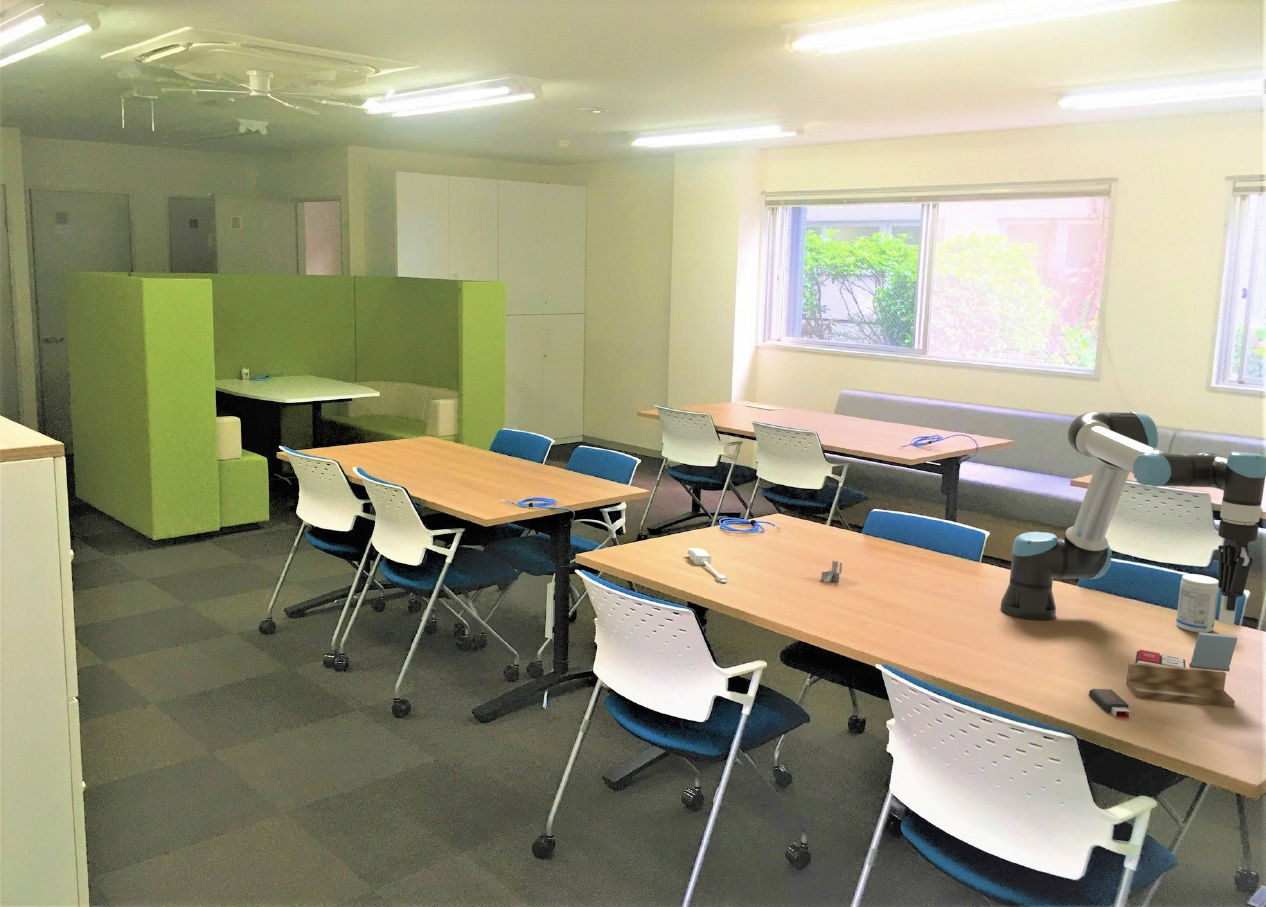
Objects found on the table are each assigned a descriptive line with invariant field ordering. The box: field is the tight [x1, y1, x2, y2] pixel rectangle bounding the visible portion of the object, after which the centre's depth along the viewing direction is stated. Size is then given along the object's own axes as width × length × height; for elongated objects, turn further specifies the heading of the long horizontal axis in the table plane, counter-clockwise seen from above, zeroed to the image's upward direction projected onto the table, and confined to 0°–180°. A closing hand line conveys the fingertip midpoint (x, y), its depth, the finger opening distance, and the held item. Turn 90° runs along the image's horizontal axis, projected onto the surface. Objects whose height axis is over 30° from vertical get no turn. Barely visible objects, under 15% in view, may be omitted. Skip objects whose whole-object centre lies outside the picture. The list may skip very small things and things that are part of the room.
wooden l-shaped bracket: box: [1125, 661, 1236, 708], centre depth 237 cm, size 21×8×6 cm, turn 80°
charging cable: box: [687, 547, 728, 583], centre depth 329 cm, size 5×32×3 cm, turn 14°
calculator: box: [1134, 649, 1187, 668], centre depth 250 cm, size 11×4×15 cm
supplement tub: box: [1175, 573, 1220, 633], centre depth 286 cm, size 10×10×15 cm
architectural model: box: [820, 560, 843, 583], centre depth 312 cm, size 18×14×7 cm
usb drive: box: [1088, 688, 1132, 719], centre depth 229 cm, size 5×12×3 cm, turn 178°
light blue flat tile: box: [1188, 632, 1238, 672], centre depth 236 cm, size 8×10×1 cm
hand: (1226, 622), depth 230 cm, fingers closed
